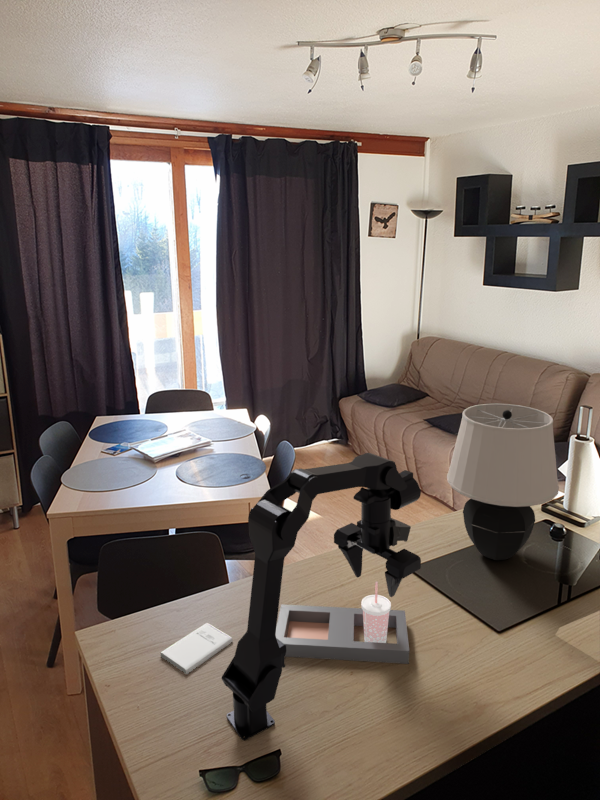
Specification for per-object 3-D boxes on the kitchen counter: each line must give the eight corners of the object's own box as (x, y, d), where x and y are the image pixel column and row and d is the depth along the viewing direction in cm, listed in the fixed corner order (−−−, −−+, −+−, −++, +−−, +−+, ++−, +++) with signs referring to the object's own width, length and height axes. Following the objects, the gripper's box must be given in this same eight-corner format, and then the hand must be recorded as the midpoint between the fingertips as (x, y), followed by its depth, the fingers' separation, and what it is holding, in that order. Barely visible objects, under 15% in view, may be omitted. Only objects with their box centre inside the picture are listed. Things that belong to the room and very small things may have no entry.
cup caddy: (404, 622, 130) (404, 610, 129) (408, 663, 117) (409, 651, 116) (281, 615, 132) (281, 604, 132) (273, 655, 120) (272, 643, 119)
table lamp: (496, 522, 173) (507, 390, 162) (574, 566, 150) (593, 416, 139) (421, 544, 162) (428, 404, 151) (493, 596, 138) (507, 434, 127)
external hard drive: (160, 658, 120) (206, 627, 130) (186, 676, 115) (232, 643, 125) (160, 651, 120) (206, 621, 129) (186, 669, 115) (232, 636, 124)
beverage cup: (395, 643, 123) (398, 584, 119) (372, 654, 120) (373, 594, 116) (377, 627, 128) (379, 570, 124) (354, 637, 125) (355, 579, 121)
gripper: (440, 520, 114) (436, 590, 118) (369, 490, 128) (368, 554, 132) (402, 539, 107) (400, 613, 111) (331, 505, 121) (332, 572, 125)
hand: (374, 586), depth 120 cm, fingers open, 9 cm apart
